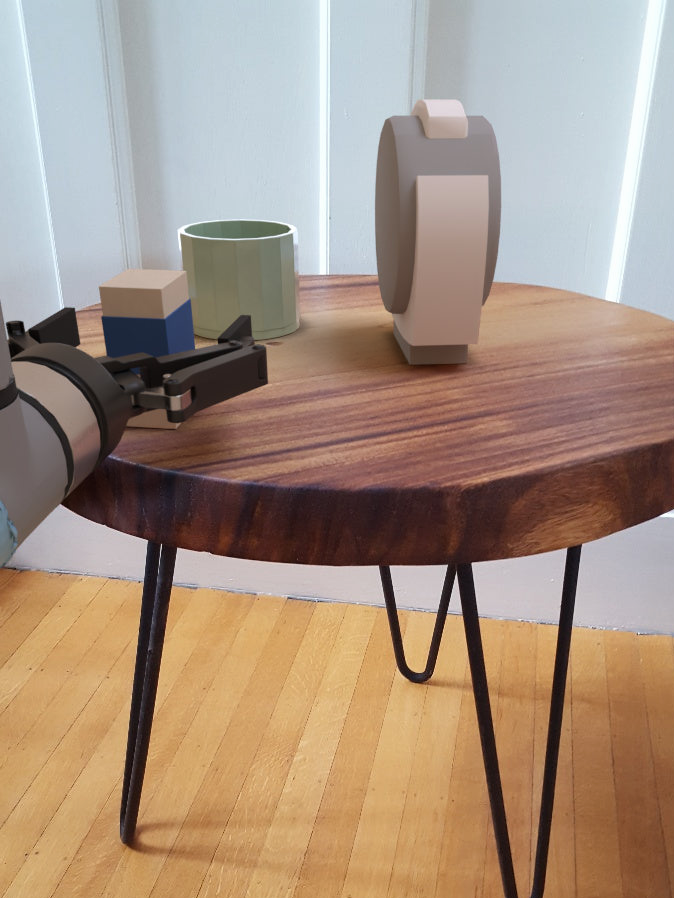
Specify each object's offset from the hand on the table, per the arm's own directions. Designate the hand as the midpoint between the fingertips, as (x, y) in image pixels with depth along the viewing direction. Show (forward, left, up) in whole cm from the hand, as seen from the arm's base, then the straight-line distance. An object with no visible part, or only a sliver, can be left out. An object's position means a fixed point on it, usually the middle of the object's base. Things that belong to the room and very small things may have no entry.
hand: (159, 329), depth 72 cm
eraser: (0, -2, -6) cm, 6 cm away
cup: (0, +25, -6) cm, 26 cm away
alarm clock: (+19, +20, -6) cm, 28 cm away
